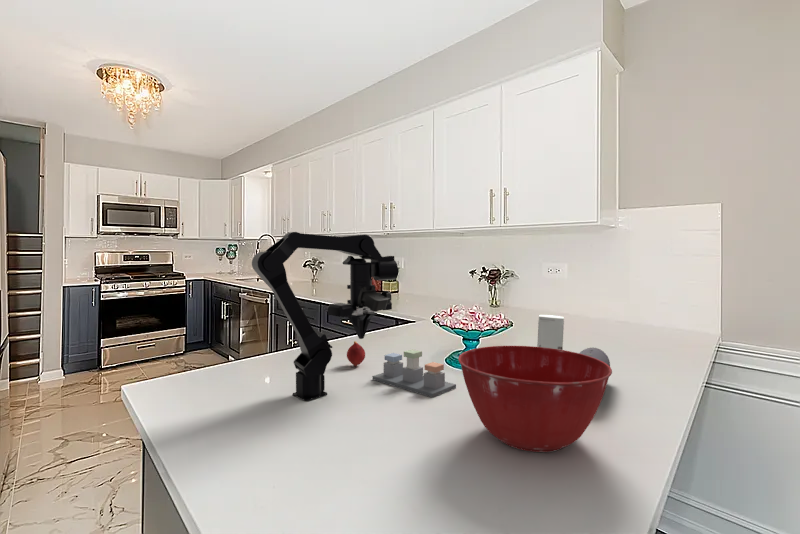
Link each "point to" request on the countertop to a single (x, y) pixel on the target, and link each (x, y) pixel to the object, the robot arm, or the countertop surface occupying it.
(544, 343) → the skincare box
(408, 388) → the key console
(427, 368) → the key
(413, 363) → the key
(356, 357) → the onion
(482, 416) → the mixing bowl
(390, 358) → the key
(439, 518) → the countertop surface
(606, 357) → the bluetooth speaker
